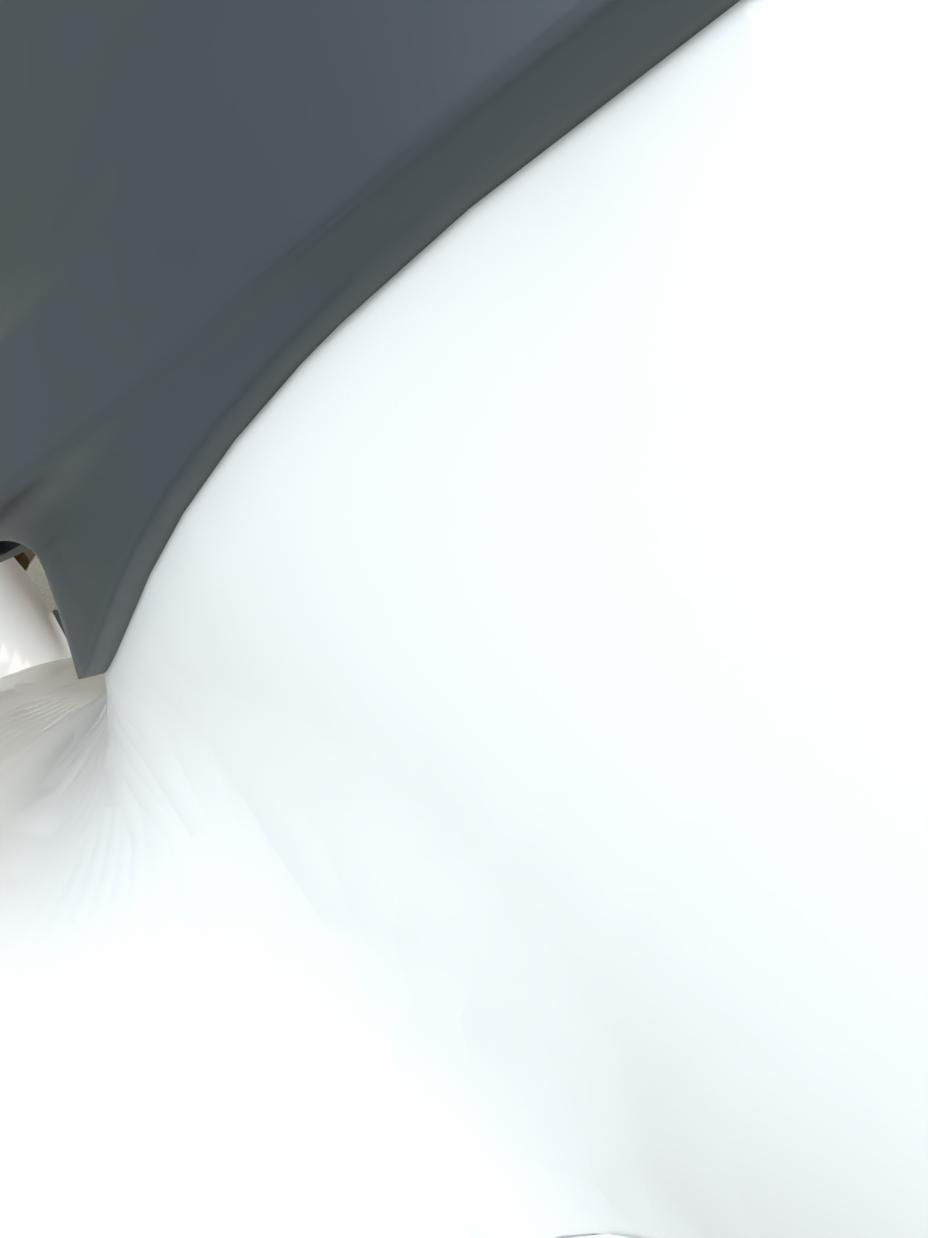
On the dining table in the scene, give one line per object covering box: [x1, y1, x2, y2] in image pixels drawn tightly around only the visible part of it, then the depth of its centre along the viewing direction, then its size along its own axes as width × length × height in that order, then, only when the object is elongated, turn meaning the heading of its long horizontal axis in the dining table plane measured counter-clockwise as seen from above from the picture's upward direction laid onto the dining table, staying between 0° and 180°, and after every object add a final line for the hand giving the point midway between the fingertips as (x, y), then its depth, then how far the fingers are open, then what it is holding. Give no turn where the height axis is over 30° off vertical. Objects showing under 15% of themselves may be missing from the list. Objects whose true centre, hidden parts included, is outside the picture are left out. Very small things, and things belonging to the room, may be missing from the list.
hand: (125, 846), depth 60 cm, fingers closed on stick, 3 cm apart
